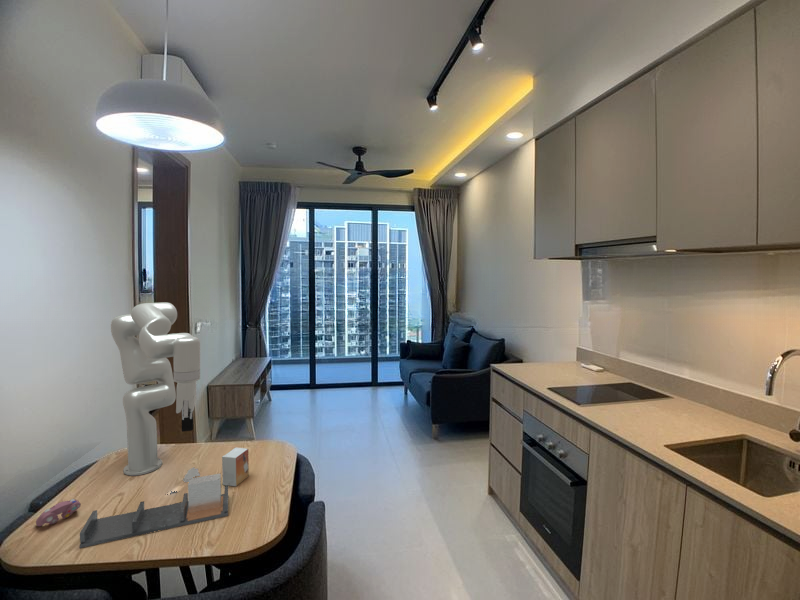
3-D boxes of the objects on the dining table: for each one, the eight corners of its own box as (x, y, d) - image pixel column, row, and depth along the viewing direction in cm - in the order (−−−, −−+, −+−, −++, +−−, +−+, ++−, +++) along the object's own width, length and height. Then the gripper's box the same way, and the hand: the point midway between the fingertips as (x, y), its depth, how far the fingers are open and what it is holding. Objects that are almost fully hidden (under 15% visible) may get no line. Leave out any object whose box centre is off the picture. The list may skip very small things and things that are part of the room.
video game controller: (39, 535, 114) (43, 517, 112) (33, 524, 116) (36, 506, 114) (80, 517, 122) (84, 500, 120) (74, 507, 124) (77, 490, 122)
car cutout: (192, 474, 147) (191, 462, 147) (205, 477, 145) (205, 465, 145) (155, 495, 133) (155, 482, 132) (170, 498, 131) (170, 485, 130)
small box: (236, 487, 137) (235, 458, 137) (222, 485, 138) (221, 456, 138) (249, 475, 145) (248, 448, 145) (235, 474, 146) (235, 446, 146)
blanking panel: (190, 506, 124) (189, 478, 123) (221, 500, 127) (220, 473, 127) (188, 513, 120) (187, 485, 119) (220, 506, 123) (220, 479, 123)
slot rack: (94, 522, 117) (93, 509, 117) (228, 495, 132) (228, 484, 131) (79, 548, 106) (79, 534, 106) (227, 515, 121) (227, 503, 120)
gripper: (176, 370, 131) (177, 422, 132) (170, 382, 117) (171, 441, 119) (201, 368, 134) (202, 420, 135) (198, 380, 120) (198, 438, 122)
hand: (187, 430), depth 127 cm, fingers closed
